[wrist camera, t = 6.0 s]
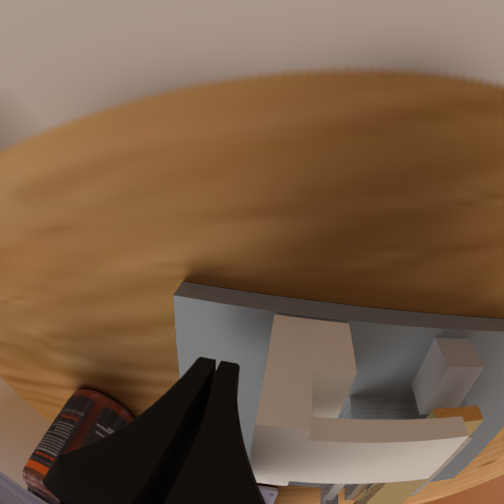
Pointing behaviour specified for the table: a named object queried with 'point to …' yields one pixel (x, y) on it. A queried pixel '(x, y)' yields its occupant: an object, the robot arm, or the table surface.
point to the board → (365, 351)
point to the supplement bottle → (73, 435)
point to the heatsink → (380, 411)
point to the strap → (394, 493)
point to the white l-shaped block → (334, 417)
